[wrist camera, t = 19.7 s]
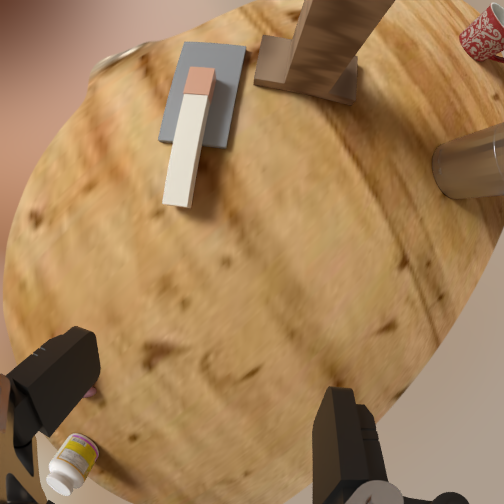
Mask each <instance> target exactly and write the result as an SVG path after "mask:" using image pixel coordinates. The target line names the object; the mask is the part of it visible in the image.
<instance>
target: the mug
mask: <svg viewBox="0 0 504 504" xmlns="http://www.w3.org/2000/svg"><path fill="white" fill-rule="evenodd" d="M459 39H460V43H461V45H462V46H463V48H464V50H465V51H466V52H467V53H468V54H469V55H470V56H471V57H472V58H473V59H475V60H477V61H480V62H481V61H484V60H486V59H491V60H494V61H497V62H501V63H504V58H503V57H499V56H496V55H495V54H497V53H499V52H501V51H503V50H504V8H503V7H501V6H500V5H498V4H497V3H491V4H490V6H489V7H488V8H487V9H486V10H485V11H484V12H483V13H482V14H481V15H480V16H479V17H477V19H476V20H475V21H474V22H472V23H471V24H470V25H469V26H468V27H467V28H466V29H465V30H464V31H463V32H462V33H461V34H460V36H459Z"/></svg>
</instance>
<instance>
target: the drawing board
mask: <svg viewBox="0 0 504 504" xmlns="http://www.w3.org/2000/svg"><path fill="white" fill-rule="evenodd" d="M245 52H246V46H238V45H229V44H218V43H204V42H184V45H183V48H182V51H181V54H180V58H179V61H178V64H177V68H176V71H175V74H174V78H173V81H172V85H171V89H170V92H169V96H168V100H167V104H166V108H165V112H164V116H163V120H162V124H161V129H160V133H159V137H158V140H159V141H160V142H168V143H173V141H174V136H175V131H176V127H177V122H178V118H179V113H180V109H181V105H182V100H183V96H184V94H183V91H184V88H185V84H186V80H187V76H188V72H189V69H190V67H205V68H215V73H216V84H215V88H214V92H213V97H212V102H211V105H210V107H209V112H208V117H207V122H206V127H205V132H204V137H203V142H202V146H207V147H215V148H222V149H226V148H227V142H228V137H229V131H230V126H231V121H232V115H233V110H234V105H235V100H236V95H237V90H238V85H239V80H240V76H241V71H242V66H243V61H244V57H245Z"/></svg>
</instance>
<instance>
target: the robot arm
mask: <svg viewBox="0 0 504 504" xmlns="http://www.w3.org/2000/svg"><path fill="white" fill-rule="evenodd" d="M432 169H433V174H434V178H435V181H436V183H437V185H438V187H439V188H440V189H441V191H442V192H443V193H444V194H445V195H446V196H448V197H449V198H452V199H465V198H477V197H489V196H500V195H504V122H503V123H500V124H497V125H494V126H491V127H489V128H486V129H483V130H480V131H477V132H474V133H471V134H469V135H466V136H463V137H460V138H457V139H455V140H452V141H449V142H446V143H444V144H442V145H440V146H439V147H438V148H437V149H436V150H435V152H434V155H433V160H432ZM100 369H101V367H100V360H99V354H98V347H97V341H96V336H95V334H94V333H93V332H91V331H88V330H86V329H83V328H80V327H78V326H74V327H72V328H71V329H70V330H68V331H67V332H66V333H65V334H63V335H59V336H57V337H54V338H52V339H49V340H48V341H47V342H46V343H44V344H43V345H42V346H41V347H40V349H39V348H38V349H37V350H36V351H35V352H33V355H32V354H31V355H30V356H29V357H27V358H26V359H25V360H24V361H23V362H21V363H20V364H19V365H18V366H17V367H15V368H14V369H13V370H12V371H11V372H10V373H8V374H7V375H6V376H5V375H3V374H0V504H55V503H53V502H51V501H50V500H48V501H47V499H46V496H45V494H44V491H43V489H42V487H41V484H40V478H39V469H38V457H37V440H36V437H35V434H36V433H37V432H38V431H40V432H41V433H43V434H44V435H46V436H48V437H49V438H50V436H51V435H52V434H53V433H54V432H55V430H56V429H57V428H58V427H59V425H60V424H61V423H62V422H63V421H64V419H65V418H66V417H67V416H68V414H69V413H70V412H71V411H72V410H73V408H74V407H75V406H76V405H77V404H78V402H79V401H80V400H81V399H82V398H83V397H84V395H85V394H86V393H87V392H88V391H89V389H90V388H91V387H92V386H93V385H94V384H95V382H96V381H97V380H98V377H99V375H100ZM378 439H379V438H378V434H377V431H376V425H375V421H374V417H373V415H372V414H371V413H370V411H369V410H368V409H367V407H366V406H365V405H360V404H356V403H355V398H354V393H353V390H352V389H351V388H341V387H330V386H329V387H328V388H327V390H326V392H325V395H324V398H323V400H322V403H321V405H320V408H319V410H318V412H317V415H316V417H315V420H314V424H313V431H312V448H313V504H469V503H468V501H467V500H466V499H465V497H463V496H462V495H460V494H458V493H455V492H446V493H443V494H441V495H439V496H437V497H436V499H434V500H433V501H426V500H419V499H412V498H408V497H404V496H402V494H401V492H400V490H399V489H398V488H397V487H396V486H394V485H393V484H391V483H389V482H388V479H387V474H386V470H385V465H384V460H383V455H382V451H381V447H380V443H379V441H378Z"/></svg>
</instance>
